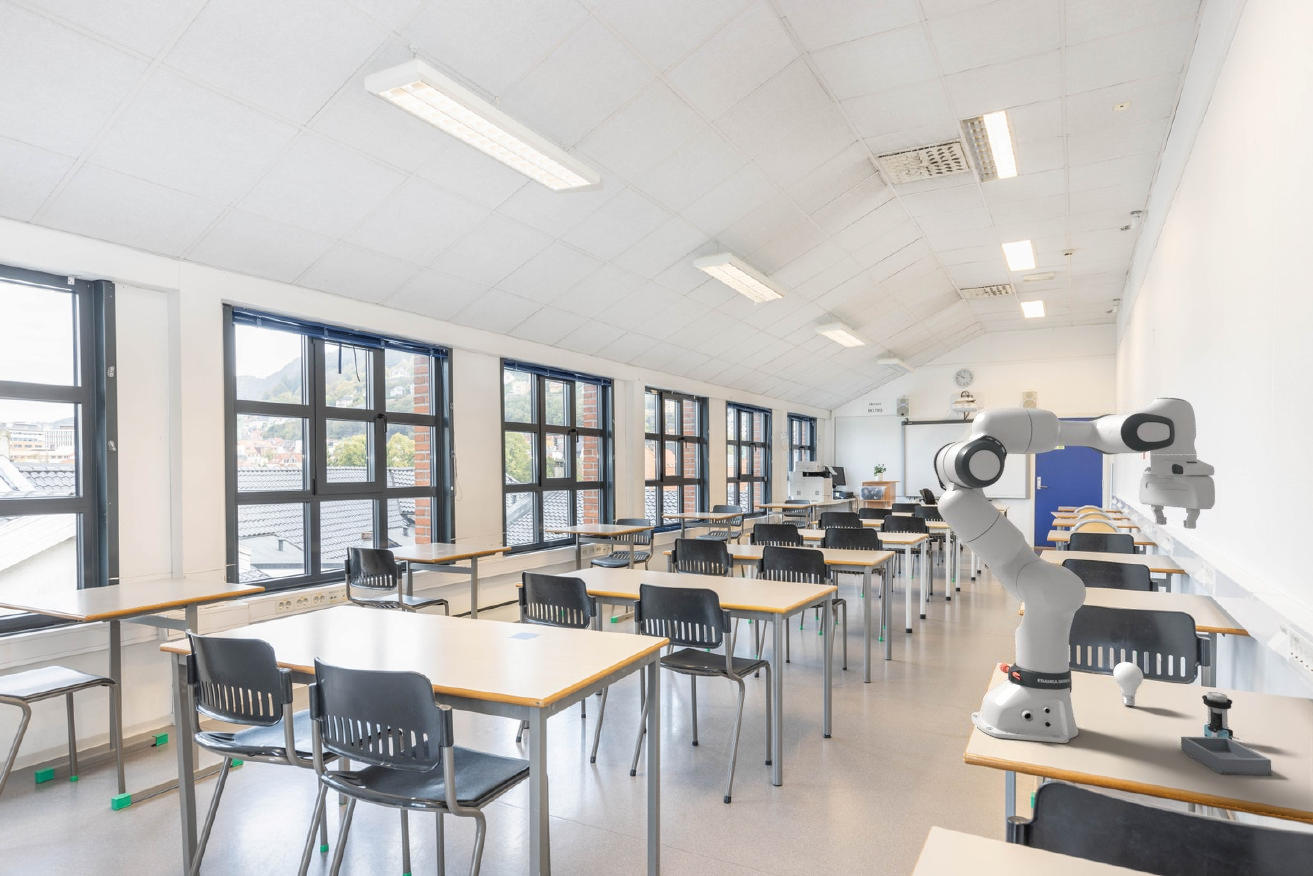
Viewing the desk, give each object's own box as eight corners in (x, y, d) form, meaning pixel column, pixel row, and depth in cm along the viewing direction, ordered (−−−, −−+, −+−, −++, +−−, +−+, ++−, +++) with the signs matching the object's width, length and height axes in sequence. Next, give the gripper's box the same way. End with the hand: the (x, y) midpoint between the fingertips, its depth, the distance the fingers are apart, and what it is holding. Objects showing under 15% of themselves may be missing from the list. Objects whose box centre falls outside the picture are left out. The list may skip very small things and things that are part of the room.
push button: (1245, 744, 157) (1244, 698, 158) (1231, 748, 155) (1230, 701, 155) (1212, 733, 163) (1211, 689, 164) (1197, 737, 161) (1196, 692, 162)
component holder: (1221, 774, 142) (1220, 759, 142) (1181, 750, 154) (1181, 736, 154) (1271, 775, 142) (1270, 760, 142) (1227, 751, 153) (1227, 737, 153)
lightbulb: (1129, 711, 178) (1128, 666, 178) (1108, 703, 184) (1107, 660, 184) (1150, 709, 179) (1149, 665, 180) (1128, 701, 185) (1127, 658, 186)
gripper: (1130, 466, 178) (1132, 522, 177) (1191, 467, 157) (1193, 530, 157) (1156, 466, 177) (1157, 522, 177) (1220, 467, 157) (1222, 530, 157)
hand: (1175, 526), depth 167 cm, fingers open, 8 cm apart
